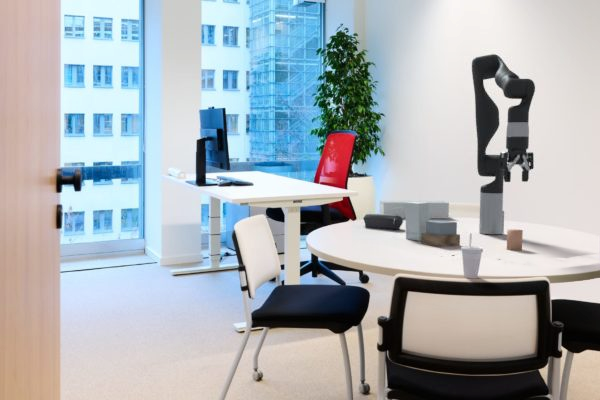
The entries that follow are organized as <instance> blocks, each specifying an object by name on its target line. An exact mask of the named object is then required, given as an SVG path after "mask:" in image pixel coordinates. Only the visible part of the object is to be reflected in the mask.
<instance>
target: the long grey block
mask: <svg viewBox="0 0 600 400" xmlns="http://www.w3.org/2000/svg"><path fill="white" fill-rule="evenodd" d="M410 202H424V203H429V215H430V219H431V218H448V219H450V218H449V217H450V216H449V215H450V214H449V212H450V209H449V208H450V202H447V201H444V200H380V201H379V214H389V215H398V216H400V217H401V218H402V219H406V212H405V203H410Z"/></svg>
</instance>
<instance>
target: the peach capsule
mask: <svg viewBox="0 0 600 400" xmlns="http://www.w3.org/2000/svg"><path fill="white" fill-rule="evenodd" d="M523 231H524V230H523V229H517V228H508V229H507V230H506V250H507V251H514V252H516V251H518V252H519V251H522V250H523Z"/></svg>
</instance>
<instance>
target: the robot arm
mask: <svg viewBox="0 0 600 400" xmlns="http://www.w3.org/2000/svg"><path fill="white" fill-rule="evenodd" d="M471 74H472V81H473V83H472V84H473V91H474V104H475V105H474V106H475V109H474V110H475V111H474V112H475V113H474V114H475V129H476V138H477V140H476V141H477V153H476V155H477V156H476V157H477V158H476V159H477V160H476V163H477V173H478V176H480V177H489V178H490V177H491V178H492V177H494V180H492V181H491V182H489V183H486V184H483V185H481V186H480V189H479V191H480V194H479V195H480V196H479V224H478V225H479V230H478V231H479V233H480V234H484V235H502V234H504V232H505V231H504V230H505V225H504V224H505V211H504V209H503V207H504V206H503V205H504V203H503V202H504V182H505V183H511V180H512V179H511V178H512V176H511V175H512V171H511V170H512V169H513V167H515V166H516V165H517V166H519V167H520V168H521V170H522V171H521V182H522V183H523V182H524V183H525V182H528V181H529V176H530V171H531V170H533V169H534V162H535V161H534V160H535V159H534V152H527V150H528V149H529V145H530V144H529V142H530V141H529V139H530V138H529V137H530V126H529V119H530V118H529V115H530V114H529V113H530V108H531V104H532V101H533V98H534V95H535V92H536V85H535V82H534V81H533V80H532V79H531V78H520V76H519V75H518V74H516V73H515V72H513V71H512V70H511V69H510V68H509V67H508V66H507V64H506V63H505V62H504V60H503V59H502V57H500V56H499V55H498V54H494V53H493V54H488V55H487V54H486V55H481V56H477V57H474V58H473V59H472V62H471ZM491 79H494V82H495V84H496V85H497V87H498V88H500V89H501V90H502V92H503V96H504V97H505V98H507V99H510V100H520V103H519V104H516V105H512V106H509V107H508V110H507V125H506V133H505V134H506V137H505V139H506V140H505V149H506V150H507V151H501V152H500V154H487V152H486V151H487V148H488V145H489V144H490V142H491V140H492V139H493V137H494V135H495V134H496V133H497V131H498V130H499V127H500V109H499V108H498V105H497V104H496V102H494V100H493V98H491V96H490V95H489V94H488V92H487V91H486V88H485V85H484V80H491Z"/></svg>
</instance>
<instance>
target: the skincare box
mask: <svg viewBox="0 0 600 400" xmlns="http://www.w3.org/2000/svg"><path fill="white" fill-rule="evenodd" d="M405 212H406V218H405V239H406V240H409V241H410V240H411V241H418V242H420V241H421V233H426V221H431V220H430V219H431V218H430V215H429V203H424V202H410V203H405Z"/></svg>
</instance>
